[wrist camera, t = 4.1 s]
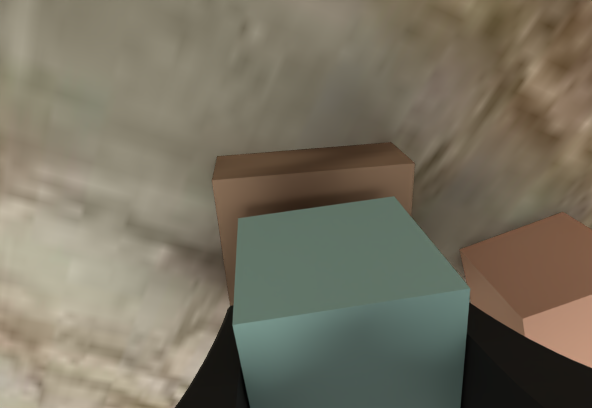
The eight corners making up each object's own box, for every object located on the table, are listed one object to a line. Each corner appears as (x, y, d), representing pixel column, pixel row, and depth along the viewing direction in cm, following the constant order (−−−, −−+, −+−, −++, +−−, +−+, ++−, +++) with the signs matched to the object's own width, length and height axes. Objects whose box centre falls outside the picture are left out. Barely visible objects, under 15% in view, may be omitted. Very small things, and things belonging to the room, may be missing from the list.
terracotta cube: (561, 211, 19) (658, 271, 15) (568, 292, 21) (655, 366, 17) (458, 248, 19) (522, 318, 15) (475, 325, 22) (535, 407, 17)
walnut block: (388, 139, 17) (415, 163, 14) (382, 280, 20) (403, 322, 17) (217, 153, 17) (212, 180, 14) (237, 296, 20) (235, 341, 17)
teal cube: (394, 196, 13) (470, 288, 9) (395, 319, 15) (457, 446, 11) (238, 218, 13) (232, 325, 8) (260, 340, 15) (265, 480, 10)
